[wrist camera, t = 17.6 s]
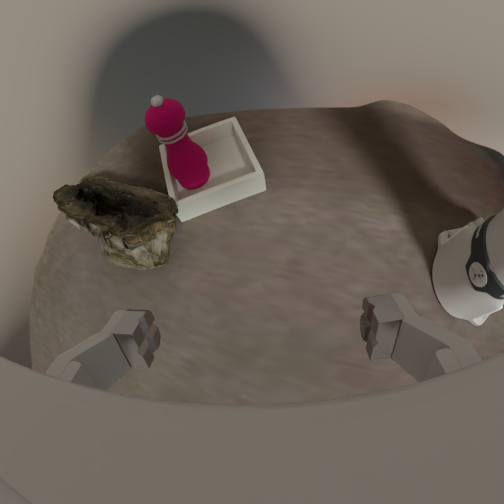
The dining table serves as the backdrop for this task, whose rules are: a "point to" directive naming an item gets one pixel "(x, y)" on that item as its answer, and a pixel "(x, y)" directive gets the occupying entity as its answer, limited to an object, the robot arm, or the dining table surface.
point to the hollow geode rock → (122, 220)
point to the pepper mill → (177, 143)
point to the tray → (218, 171)
